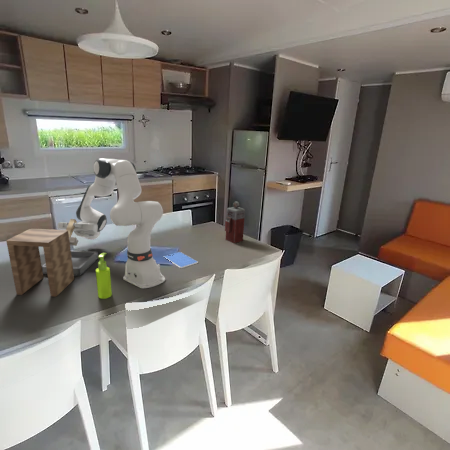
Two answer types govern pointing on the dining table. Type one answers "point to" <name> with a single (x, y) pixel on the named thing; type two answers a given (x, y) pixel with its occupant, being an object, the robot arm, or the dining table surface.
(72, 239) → the scraper
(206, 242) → the dining table surface
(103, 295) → the soap dispenser
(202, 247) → the dining table surface
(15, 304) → the dining table surface
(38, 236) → the walnut bench
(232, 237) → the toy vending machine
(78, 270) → the tray
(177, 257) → the blue notebook
